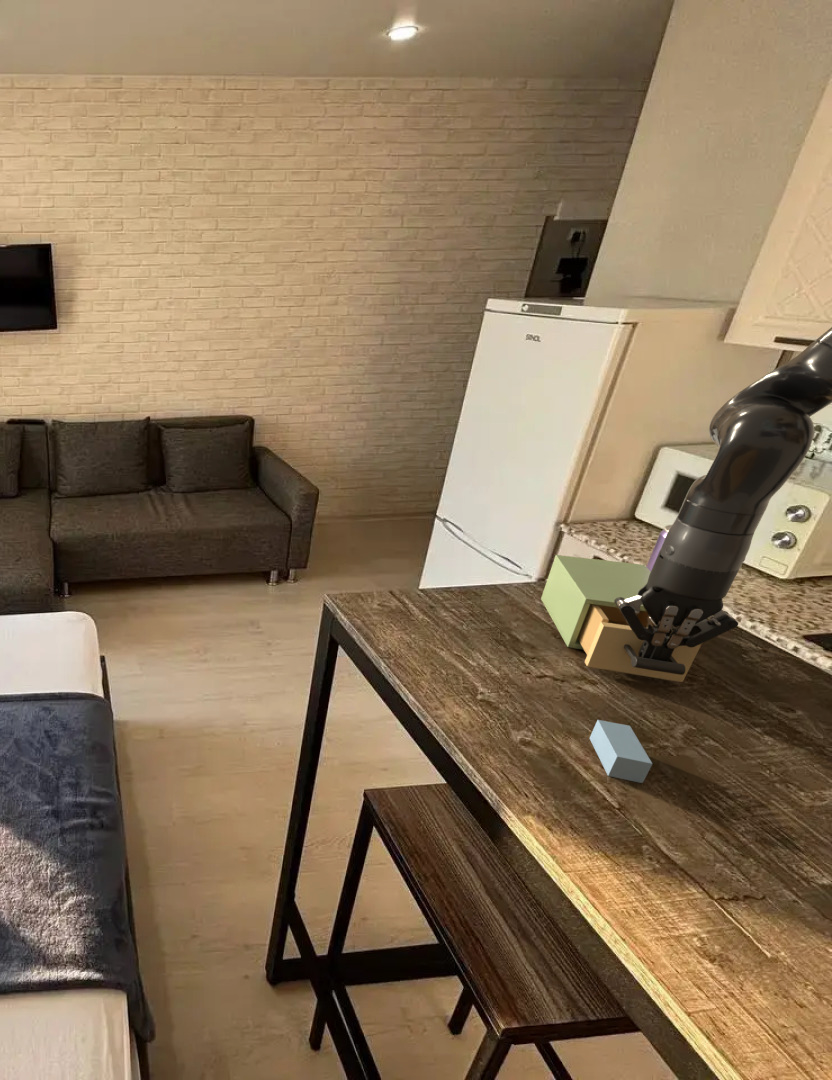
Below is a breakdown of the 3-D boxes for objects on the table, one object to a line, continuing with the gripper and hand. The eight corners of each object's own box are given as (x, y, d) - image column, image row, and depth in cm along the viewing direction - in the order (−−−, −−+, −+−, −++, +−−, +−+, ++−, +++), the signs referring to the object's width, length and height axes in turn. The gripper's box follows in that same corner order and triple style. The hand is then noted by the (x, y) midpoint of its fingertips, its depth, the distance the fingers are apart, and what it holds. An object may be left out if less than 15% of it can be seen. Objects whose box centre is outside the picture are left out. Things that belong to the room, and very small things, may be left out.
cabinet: (665, 662, 88) (689, 612, 84) (567, 647, 92) (586, 598, 88) (625, 610, 101) (644, 564, 97) (540, 598, 105) (555, 554, 101)
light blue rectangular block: (621, 744, 74) (630, 725, 72) (642, 783, 68) (652, 763, 67) (589, 738, 75) (597, 719, 74) (607, 776, 69) (617, 756, 68)
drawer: (699, 703, 79) (722, 660, 76) (598, 686, 82) (616, 644, 79) (640, 627, 95) (657, 589, 92) (558, 616, 99) (571, 579, 95)
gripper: (750, 550, 75) (696, 658, 82) (625, 537, 79) (584, 640, 87) (786, 577, 68) (723, 691, 76) (648, 561, 73) (601, 671, 80)
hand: (649, 664), depth 81 cm, fingers closed
